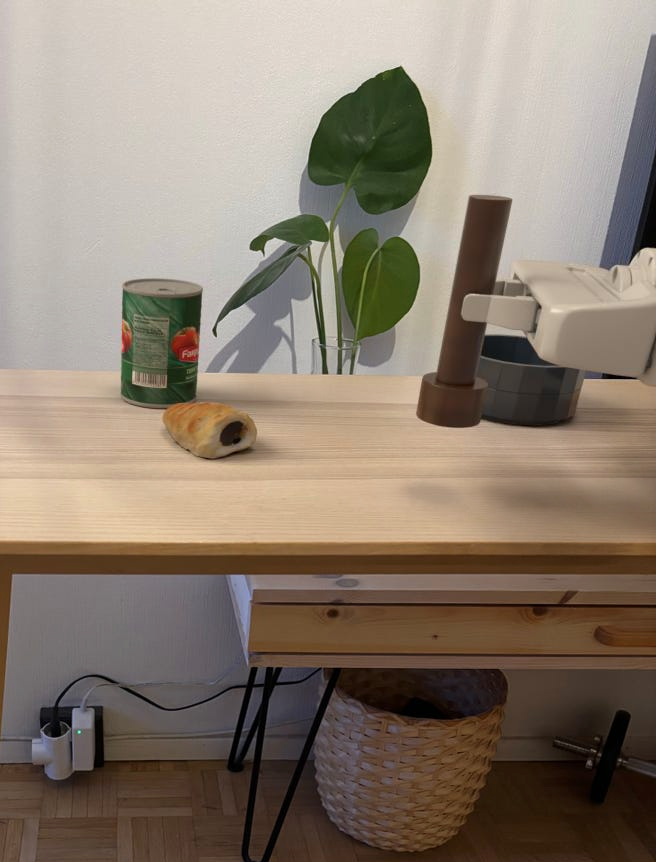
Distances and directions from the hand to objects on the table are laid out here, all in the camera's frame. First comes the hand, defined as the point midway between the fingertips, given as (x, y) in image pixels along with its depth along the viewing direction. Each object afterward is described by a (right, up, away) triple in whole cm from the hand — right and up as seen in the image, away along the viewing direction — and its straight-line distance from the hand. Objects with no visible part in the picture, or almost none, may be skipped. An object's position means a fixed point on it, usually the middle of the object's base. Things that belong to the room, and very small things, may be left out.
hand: (459, 299), depth 71 cm
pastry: (-18, -8, +16) cm, 25 cm away
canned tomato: (-23, -1, +27) cm, 36 cm away
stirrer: (0, -8, +4) cm, 9 cm away
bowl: (+14, -1, +30) cm, 33 cm away
